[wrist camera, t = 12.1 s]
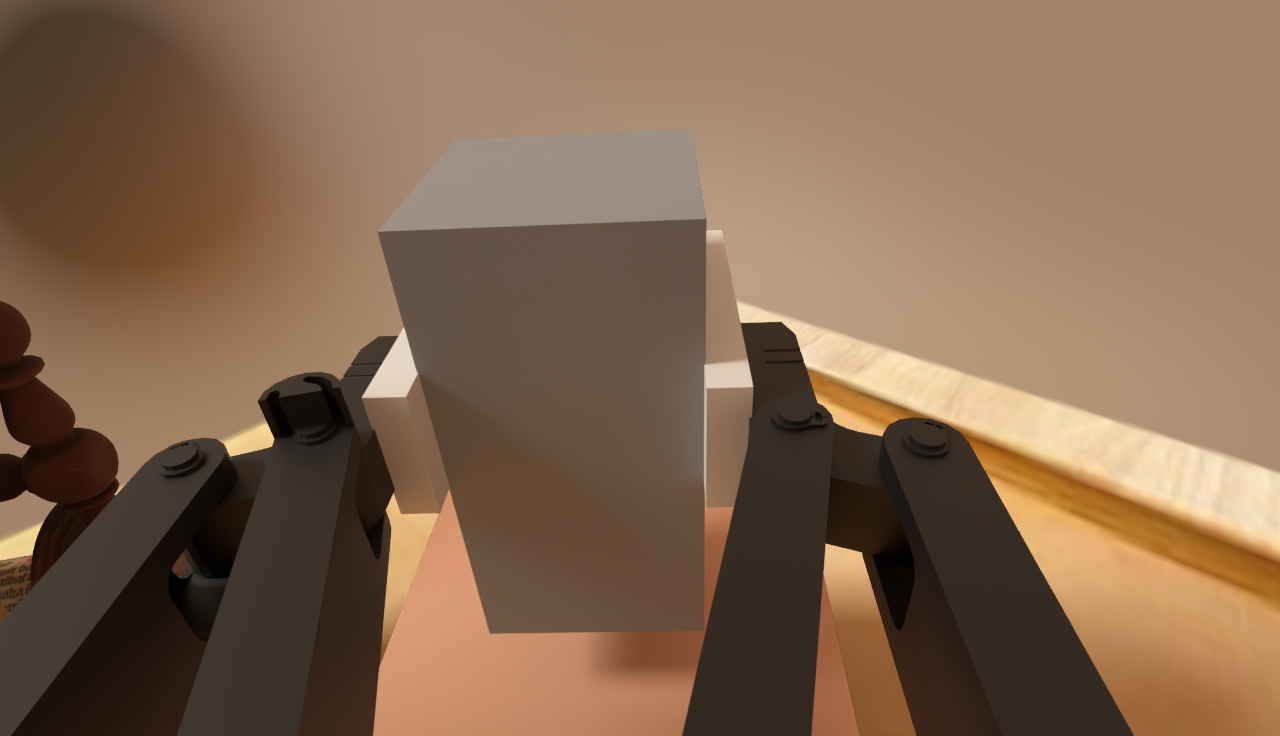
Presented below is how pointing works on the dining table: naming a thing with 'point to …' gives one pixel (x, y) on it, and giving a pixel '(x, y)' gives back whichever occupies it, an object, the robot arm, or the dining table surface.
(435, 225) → the grey block
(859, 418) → the dining table surface
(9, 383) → the scroll
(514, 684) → the tower top
